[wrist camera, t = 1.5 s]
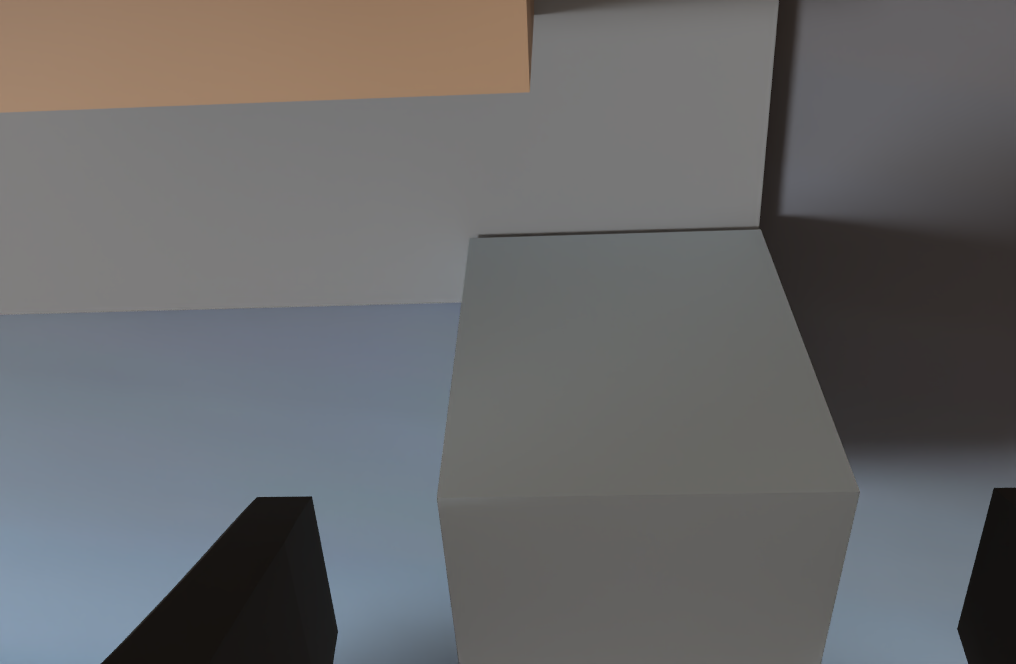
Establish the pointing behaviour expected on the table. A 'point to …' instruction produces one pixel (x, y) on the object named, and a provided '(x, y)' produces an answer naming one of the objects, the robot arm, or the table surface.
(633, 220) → the mat
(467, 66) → the walnut block
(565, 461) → the pale grey small block
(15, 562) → the table surface
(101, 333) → the table surface
